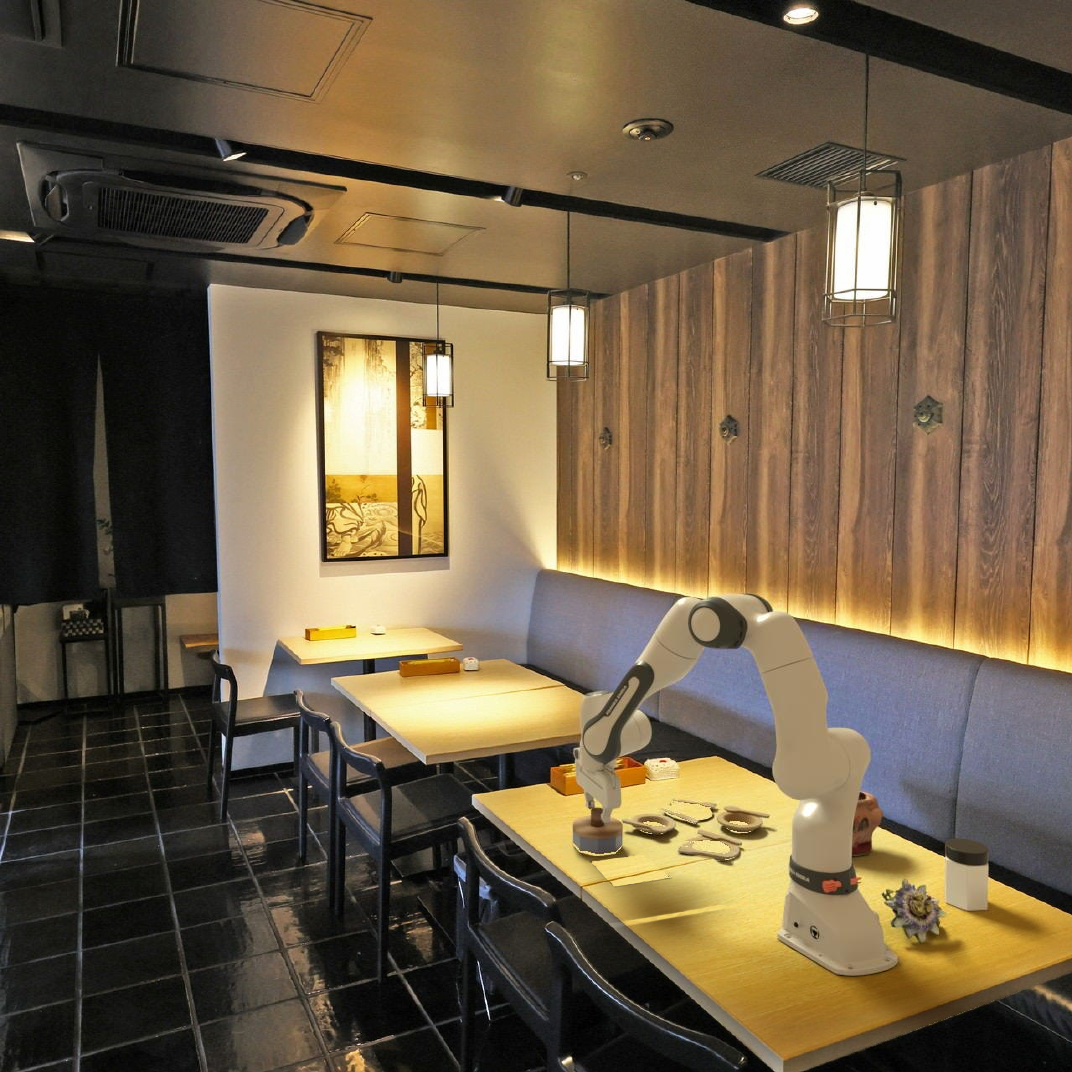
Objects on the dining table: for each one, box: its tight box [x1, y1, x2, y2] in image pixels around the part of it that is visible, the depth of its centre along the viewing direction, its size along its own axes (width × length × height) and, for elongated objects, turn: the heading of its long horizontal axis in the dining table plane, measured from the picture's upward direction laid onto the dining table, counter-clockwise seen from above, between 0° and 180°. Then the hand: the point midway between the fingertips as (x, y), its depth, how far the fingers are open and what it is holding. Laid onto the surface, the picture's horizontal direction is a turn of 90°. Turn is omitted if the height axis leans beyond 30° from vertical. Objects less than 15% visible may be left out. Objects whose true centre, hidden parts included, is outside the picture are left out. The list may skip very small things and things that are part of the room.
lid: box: [572, 807, 624, 839], centre depth 205 cm, size 12×12×5 cm
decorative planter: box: [852, 790, 884, 857], centre depth 205 cm, size 20×12×14 cm, turn 109°
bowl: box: [572, 831, 624, 854], centre depth 205 cm, size 11×11×5 cm
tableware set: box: [621, 798, 771, 861], centre depth 217 cm, size 35×29×4 cm
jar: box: [944, 838, 990, 912], centre depth 179 cm, size 9×8×12 cm
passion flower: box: [881, 877, 947, 944], centre depth 167 cm, size 11×11×12 cm
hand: (597, 814), depth 205 cm, fingers open, 8 cm apart
